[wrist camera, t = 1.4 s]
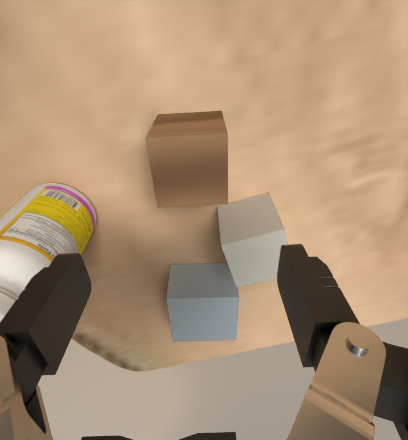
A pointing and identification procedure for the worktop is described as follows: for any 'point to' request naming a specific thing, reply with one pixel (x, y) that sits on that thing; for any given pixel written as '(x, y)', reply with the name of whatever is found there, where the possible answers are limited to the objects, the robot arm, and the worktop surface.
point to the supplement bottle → (40, 235)
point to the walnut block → (189, 159)
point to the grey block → (251, 238)
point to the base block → (202, 302)
